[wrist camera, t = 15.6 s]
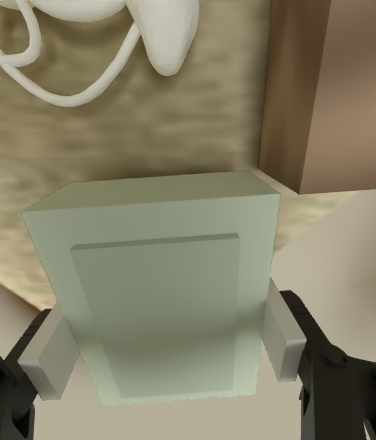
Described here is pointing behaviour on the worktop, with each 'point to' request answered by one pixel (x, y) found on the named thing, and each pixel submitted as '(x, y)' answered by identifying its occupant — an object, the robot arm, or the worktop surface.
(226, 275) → the cover
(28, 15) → the tangled rod sculpture
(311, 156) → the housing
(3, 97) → the worktop surface
